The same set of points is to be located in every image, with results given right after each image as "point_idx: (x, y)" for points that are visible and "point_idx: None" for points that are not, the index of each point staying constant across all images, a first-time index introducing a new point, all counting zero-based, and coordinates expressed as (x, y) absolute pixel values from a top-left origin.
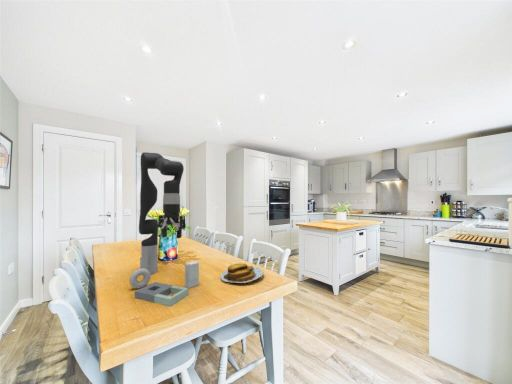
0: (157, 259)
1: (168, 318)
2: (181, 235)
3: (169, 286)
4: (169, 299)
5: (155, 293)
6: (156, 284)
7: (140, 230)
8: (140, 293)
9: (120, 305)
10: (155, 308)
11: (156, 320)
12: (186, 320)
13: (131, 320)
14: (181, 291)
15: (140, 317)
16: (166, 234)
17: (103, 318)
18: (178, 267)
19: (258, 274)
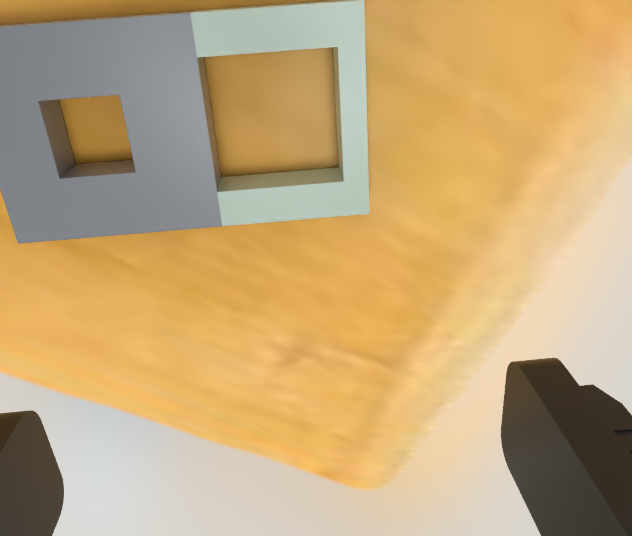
0: None
1: (451, 285)
2: (624, 411)
3: (173, 50)
4: (363, 212)
5: (194, 198)
6: (23, 71)
7: None
8: (83, 236)
9: (74, 318)
10: (299, 251)
11: (406, 321)
12: (555, 258)
13: (291, 370)
14: (352, 81)
15: (307, 339)
16: (13, 458)
17: (149, 415)
18: None
19: None
